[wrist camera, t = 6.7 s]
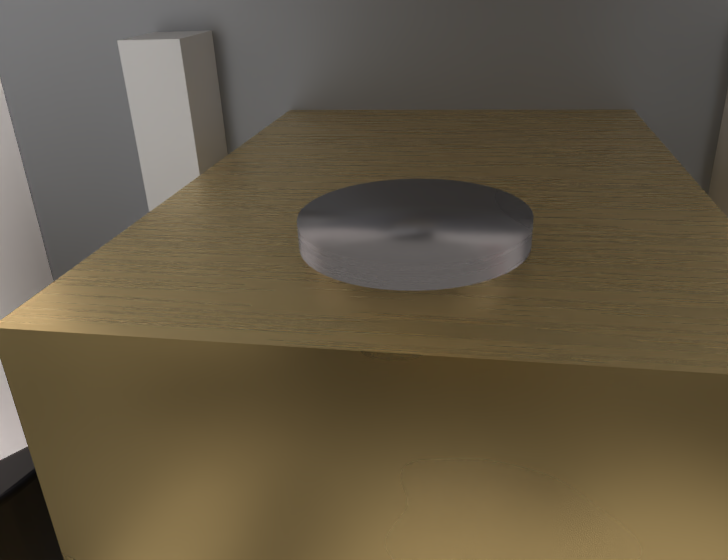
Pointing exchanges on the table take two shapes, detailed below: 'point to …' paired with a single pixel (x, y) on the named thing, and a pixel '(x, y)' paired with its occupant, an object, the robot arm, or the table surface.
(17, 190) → the table surface
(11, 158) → the table surface
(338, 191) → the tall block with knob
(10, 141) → the table surface
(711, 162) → the shaft rig
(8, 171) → the table surface
